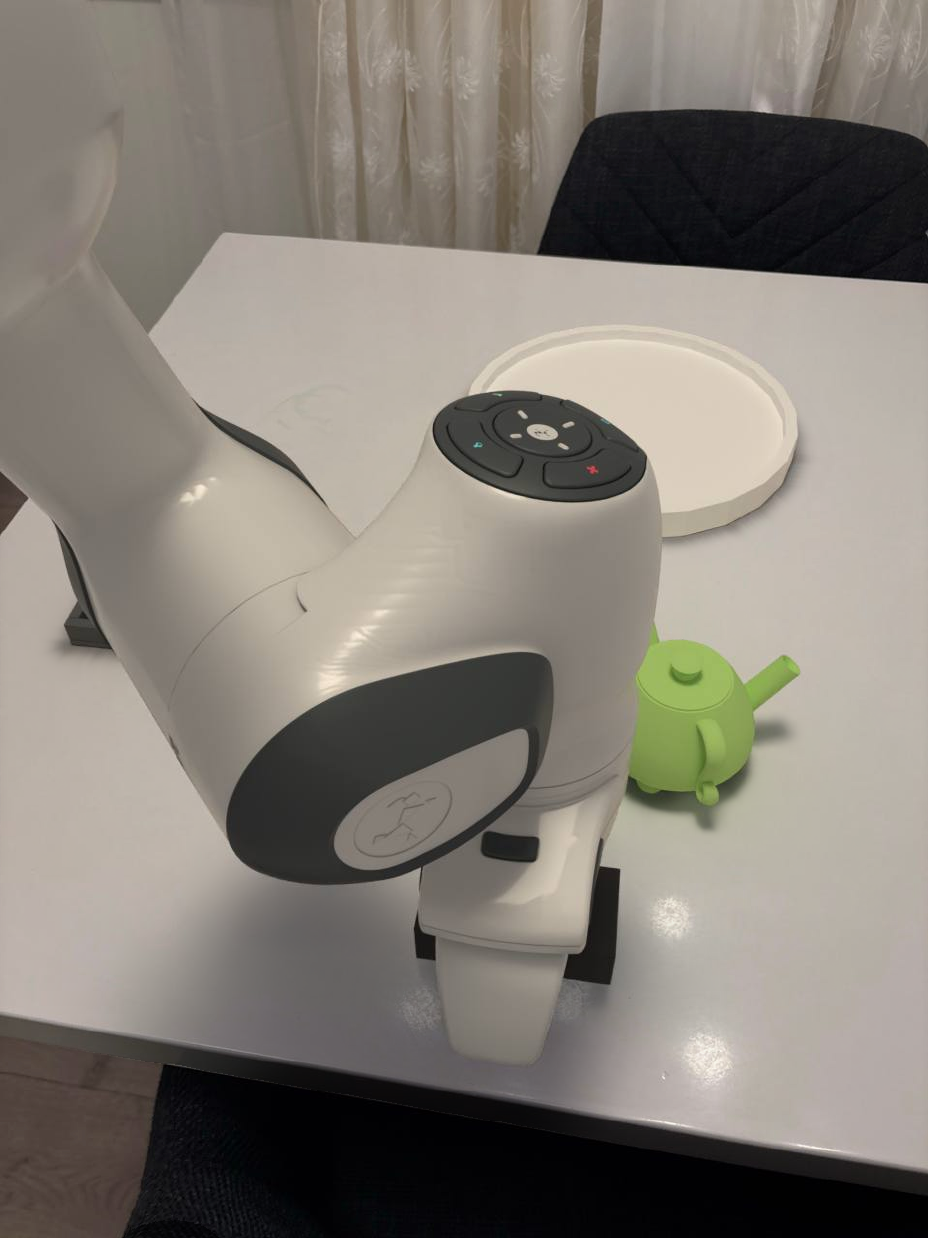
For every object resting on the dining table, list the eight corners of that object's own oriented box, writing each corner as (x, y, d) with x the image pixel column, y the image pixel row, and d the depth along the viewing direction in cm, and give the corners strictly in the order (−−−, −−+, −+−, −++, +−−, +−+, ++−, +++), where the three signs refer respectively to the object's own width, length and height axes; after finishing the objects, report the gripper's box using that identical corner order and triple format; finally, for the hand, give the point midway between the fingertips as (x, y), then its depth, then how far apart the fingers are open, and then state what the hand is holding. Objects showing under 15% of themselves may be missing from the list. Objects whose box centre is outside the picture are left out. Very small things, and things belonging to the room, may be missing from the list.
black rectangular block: (415, 958, 54) (413, 929, 52) (432, 874, 57) (430, 844, 55) (610, 986, 53) (615, 957, 51) (615, 898, 56) (620, 868, 54)
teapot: (718, 856, 61) (742, 768, 55) (545, 773, 65) (550, 683, 59) (785, 727, 67) (813, 636, 61) (624, 659, 72) (636, 568, 66)
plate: (863, 472, 86) (871, 447, 84) (572, 583, 77) (574, 558, 75) (666, 320, 104) (669, 297, 102) (411, 397, 95) (409, 373, 93)
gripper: (486, 573, 52) (485, 747, 62) (407, 953, 37) (422, 1102, 47) (614, 586, 51) (592, 760, 61) (583, 978, 37) (562, 1124, 46)
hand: (517, 912), depth 54 cm, fingers closed on black rectangular block, 5 cm apart
